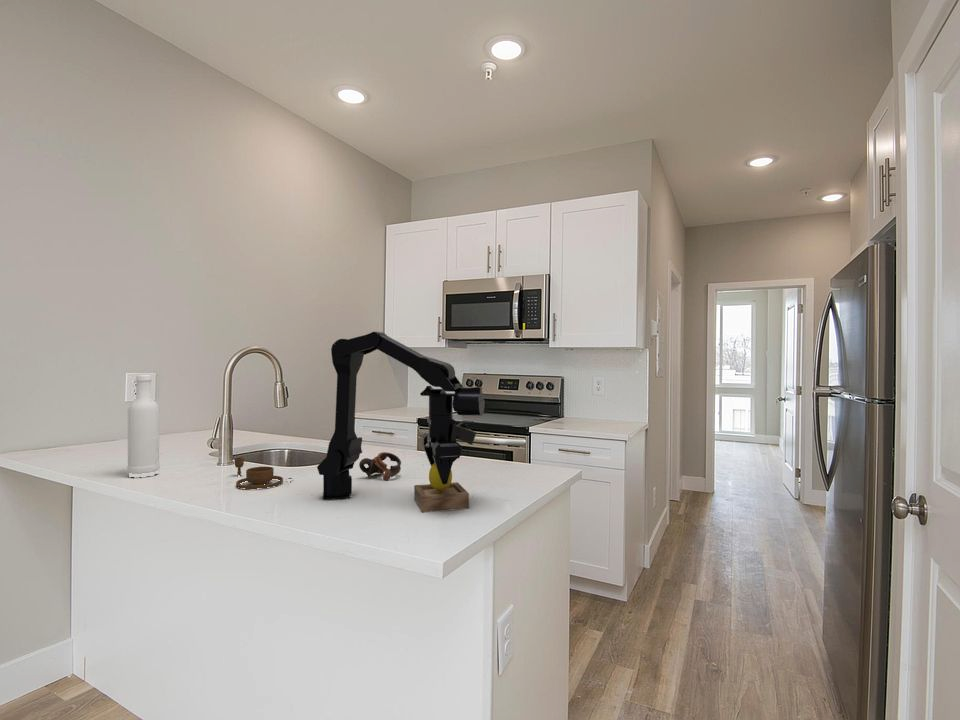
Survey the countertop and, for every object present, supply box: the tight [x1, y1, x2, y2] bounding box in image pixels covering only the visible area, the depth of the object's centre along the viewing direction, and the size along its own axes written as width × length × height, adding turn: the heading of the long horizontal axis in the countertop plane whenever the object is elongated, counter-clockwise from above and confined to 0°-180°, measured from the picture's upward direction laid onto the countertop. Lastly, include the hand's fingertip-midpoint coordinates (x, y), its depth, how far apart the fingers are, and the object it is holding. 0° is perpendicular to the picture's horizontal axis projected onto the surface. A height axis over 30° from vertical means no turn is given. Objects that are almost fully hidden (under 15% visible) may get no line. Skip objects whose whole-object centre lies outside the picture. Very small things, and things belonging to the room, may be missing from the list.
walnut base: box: [413, 481, 470, 513], centre depth 121 cm, size 11×11×4 cm
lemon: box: [428, 463, 453, 493], centre depth 121 cm, size 6×6×8 cm
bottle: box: [126, 374, 161, 474], centre depth 150 cm, size 8×8×30 cm
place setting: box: [234, 457, 293, 489], centre depth 143 cm, size 18×20×6 cm
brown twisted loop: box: [358, 451, 402, 481], centre depth 147 cm, size 12×10×8 cm
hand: (440, 479), depth 121 cm, fingers open, 9 cm apart
